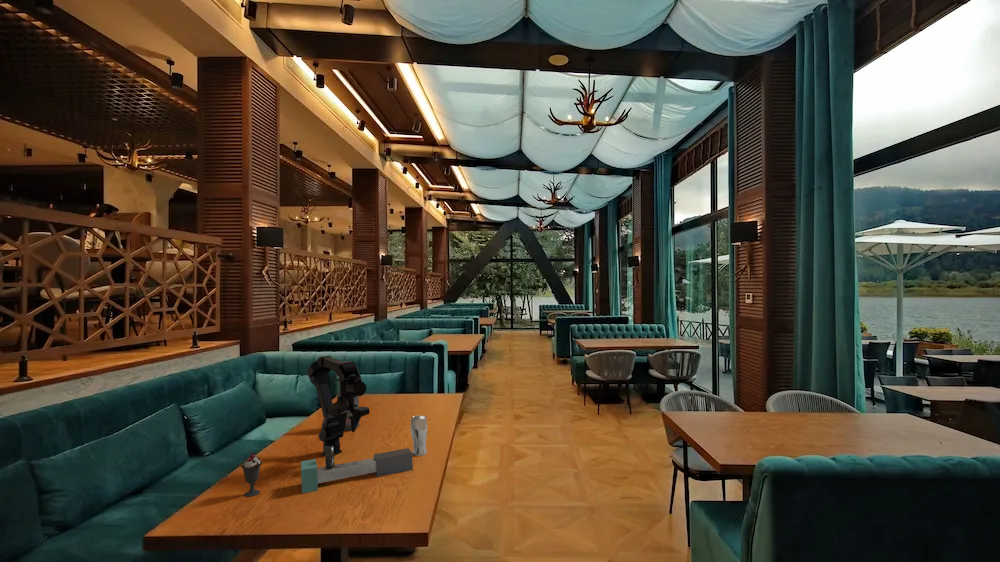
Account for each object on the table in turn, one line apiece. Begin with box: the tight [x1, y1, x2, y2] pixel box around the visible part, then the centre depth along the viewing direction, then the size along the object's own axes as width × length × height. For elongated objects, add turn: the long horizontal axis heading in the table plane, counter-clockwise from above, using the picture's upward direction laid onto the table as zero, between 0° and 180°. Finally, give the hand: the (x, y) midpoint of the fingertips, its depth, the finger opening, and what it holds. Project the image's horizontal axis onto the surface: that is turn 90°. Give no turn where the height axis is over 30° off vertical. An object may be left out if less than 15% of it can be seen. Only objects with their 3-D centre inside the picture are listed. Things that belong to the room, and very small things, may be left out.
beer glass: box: [410, 415, 428, 457], centre depth 194 cm, size 7×7×15 cm
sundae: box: [240, 451, 263, 498], centre depth 160 cm, size 7×7×15 cm
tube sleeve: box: [373, 447, 414, 478], centre depth 176 cm, size 13×6×6 cm, turn 115°
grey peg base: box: [317, 445, 377, 484], centre depth 169 cm, size 25×4×12 cm, turn 115°
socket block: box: [300, 458, 319, 494], centre depth 164 cm, size 5×9×8 cm, turn 25°
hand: (348, 431), depth 188 cm, fingers open, 5 cm apart
